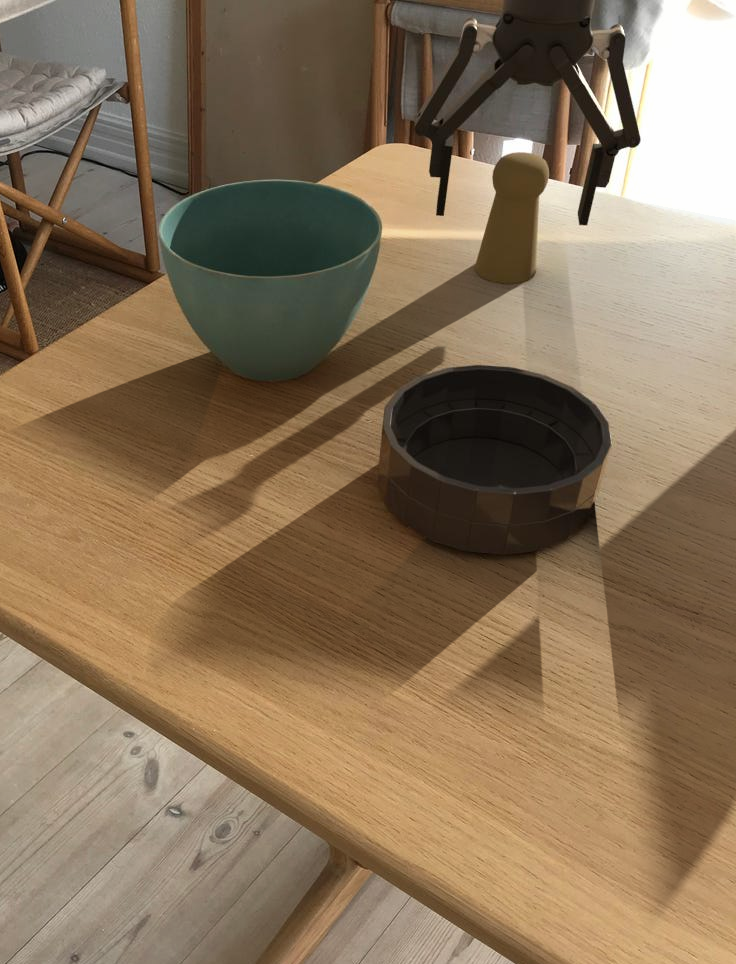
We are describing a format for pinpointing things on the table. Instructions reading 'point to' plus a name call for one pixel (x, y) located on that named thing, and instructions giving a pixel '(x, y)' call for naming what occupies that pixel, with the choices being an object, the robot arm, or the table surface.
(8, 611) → the table surface
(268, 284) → the teal green deep bowl
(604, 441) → the bowl
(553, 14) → the robot arm
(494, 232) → the yellow pawn
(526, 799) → the table surface
